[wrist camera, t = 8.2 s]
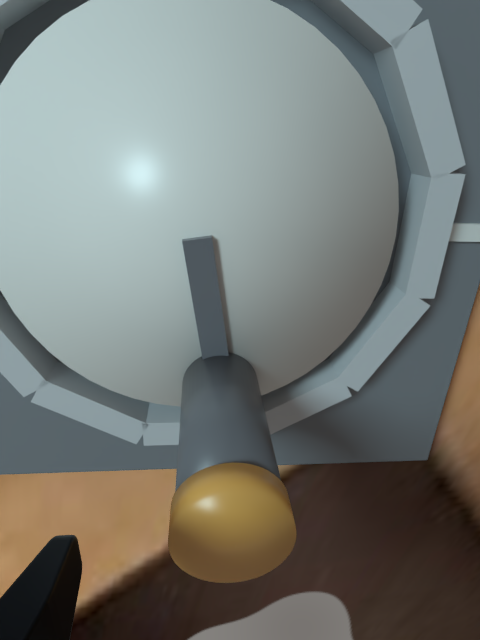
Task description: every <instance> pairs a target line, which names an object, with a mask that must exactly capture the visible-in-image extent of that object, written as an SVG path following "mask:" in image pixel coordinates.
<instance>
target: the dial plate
mask: <svg viewBox="0 0 480 640" xmlns="http://www.w3.org/2000/svg"><path fill="white" fill-rule="evenodd" d="M87 1H89V0H0V85H1V83H2V82H3V80H4V78H5V77H6V75H7V74H8V72H9V70H10V69H11V67H12V66H13V64H14V62H15V61H16V60H17V59H18V58H19V57H20V55H21V54H22V53H23V52H24V51H25V50H26V49H27V47H28V46H29V45H30V44H31V43H32V42H33V41H34V39H35V38H36V37H37V36H39V35H40V34H41V33H42V32H43V31H45V30H46V29H47V28H48V27H49V26H51V25H52V24H53V23H54V22H56V21H57V20H58V19H59V18H60V17H62V16H63V15H65V14H67V13H68V12H70V11H72V10H74V9H75V8H77V7H79V6H80V5H82V4H84V3H86V2H87ZM271 1H273V2H275V3H277V4H279V5H282V6H284V7H286V8H288V9H289V10H291V11H292V12H294V13H295V14H297V15H298V16H300V17H301V18H302V19H304V20H305V21H307V22H308V23H310V24H311V25H313V26H314V27H316V28H317V29H318V30H319V31H320V32H321V33H322V34H323V35H324V36H325V37H326V38H327V39H329V40H330V41H331V42H332V43H333V44H334V45H335V46H336V47H337V48H338V49H339V50H340V51H341V52H342V53H343V55H344V56H345V57H346V58H347V60H348V61H349V62H350V63H351V65H352V66H353V67H354V68H355V69H356V71H357V72H358V73H359V75H360V76H361V78H362V80H363V81H364V83H365V85H366V86H367V88H368V90H369V91H370V93H371V95H372V96H373V98H374V100H375V102H376V104H377V106H378V109H379V111H380V113H381V116H382V118H383V120H384V123H385V125H386V127H387V131H388V134H389V138H390V141H391V145H392V149H393V152H394V156H395V163H396V170H397V177H398V193H399V213H398V222H397V230H396V238H395V242H394V246H393V251H392V255H391V259H390V263H389V265H388V268H387V271H386V273H385V276H384V279H383V281H382V284H381V286H380V288H379V290H378V292H377V294H376V296H375V298H374V300H373V302H372V304H371V306H370V307H369V309H368V310H367V312H366V313H365V315H364V316H363V318H362V319H361V321H360V322H359V324H358V325H357V327H356V328H355V329H354V330H353V331H352V333H351V334H350V335H349V336H348V337H347V338H346V340H345V341H344V342H343V343H342V344H341V345H340V346H339V347H338V348H337V349H336V350H335V351H334V352H333V353H332V354H330V355H329V356H328V357H327V358H326V359H325V360H324V361H323V362H321V363H320V364H318V365H317V366H316V367H314V368H313V369H312V370H310V371H309V372H308V373H306V374H305V375H303V376H301V377H299V378H298V379H296V380H294V381H292V382H291V383H289V384H287V385H285V386H283V387H281V388H278V389H276V390H274V391H271V392H269V393H267V394H264V395H261V397H262V401H263V405H264V410H265V414H266V418H267V423H268V427H269V431H270V436H271V440H272V444H273V449H274V453H275V457H276V462H277V465H296V464H325V463H355V462H384V461H414V460H427V459H428V456H429V452H430V449H431V445H432V442H433V439H434V435H435V432H436V428H437V425H438V422H439V418H440V415H441V412H442V408H443V405H444V401H445V398H446V395H447V391H448V388H449V384H450V381H451V378H452V374H453V371H454V367H455V364H456V361H457V357H458V354H459V350H460V347H461V344H462V340H463V337H464V334H465V330H466V327H467V323H468V320H469V317H470V313H471V310H472V306H473V303H474V300H475V296H476V293H477V289H478V286H479V283H480V0H271ZM180 413H181V407H178V406H170V405H162V404H155V403H151V402H146V401H142V400H138V399H134V398H131V397H128V396H125V395H122V394H119V393H116V392H114V391H111V390H109V389H107V388H104V387H102V386H100V385H98V384H96V383H94V382H92V381H90V380H88V379H87V378H85V377H83V376H82V375H80V374H79V373H77V372H75V371H74V370H72V369H70V368H69V367H68V366H66V365H65V364H64V363H62V362H61V361H60V360H59V359H57V358H56V357H55V356H54V355H52V354H51V353H50V352H49V351H48V350H47V349H46V348H45V347H44V346H43V345H42V344H41V343H40V342H39V341H38V340H37V339H36V338H35V337H34V336H33V335H32V334H31V333H30V332H29V331H28V330H27V328H26V327H25V326H24V325H23V323H22V322H21V321H20V320H19V318H18V317H17V316H16V315H15V313H14V312H13V310H12V309H11V307H10V305H9V304H8V302H7V300H6V299H5V297H4V296H3V294H2V292H1V291H0V474H29V473H59V472H88V471H118V470H148V469H177V460H178V444H179V429H180Z"/></svg>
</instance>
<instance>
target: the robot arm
mask: <svg viewBox="0 0 480 640" xmlns="http://www.w3.org/2000/svg"><path fill="white" fill-rule="evenodd" d="M81 574H82V561H81V555H80V550H79V545H78V540H77V538H76V536H74V535H62V536H55V537H53V538H52V539H51V540H50V541H49V542H48V543H47V544H46V546H45V547H44V548H43V549H42V550H41V551H40V553H39V554H38V555H37V556H36V557H35V558H34V560H33V561H32V562H31V563H30V564H29V565H28V567H27V568H26V569H25V570H24V571H23V572H22V574H21V575H20V576H19V577H18V578H17V579H16V581H15V582H14V583H13V584H12V585H11V586H10V588H9V589H8V590H7V591H6V592H5V593H4V595H3V596H2V597H1V598H0V640H70V635H71V629H72V624H73V618H74V613H75V607H76V602H77V596H78V591H79V585H80V580H81Z"/></svg>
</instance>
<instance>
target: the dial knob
mask: <svg viewBox="0 0 480 640" xmlns="http://www.w3.org/2000/svg"><path fill="white" fill-rule="evenodd" d="M398 213H399V193H398V177H397V170H396V163H395V156H394V152H393V149H392V145H391V141H390V138H389V134H388V131H387V127H386V125H385V123H384V120H383V118H382V116H381V113H380V111H379V109H378V106H377V104H376V102H375V100H374V98H373V96H372V95H371V93H370V91H369V90H368V88H367V86H366V85H365V83H364V81H363V80H362V78H361V76H360V75H359V73H358V72H357V71H356V69H355V68H354V67H353V66H352V65H351V63H350V62H349V61H348V60H347V58H346V57H345V56H344V55H343V53H342V52H341V51H340V50H339V49H338V48H337V47H336V46H335V45H334V44H333V43H332V42H331V41H330V40H329V39H327V38H326V37H325V36H324V35H323V34H322V33H321V32H320V31H319V30H318V29H317V28H316V27H314V26H313V25H311V24H310V23H308V22H307V21H305V20H304V19H302V18H301V17H300V16H298V15H297V14H295V13H294V12H292V11H291V10H289V9H288V8H286V7H284V6H282V5H279V4H277V3H275V2H273V1H271V0H89V1H87V2H86V3H84V4H82V5H80V6H79V7H77V8H75V9H74V10H72V11H70V12H68V13H67V14H65V15H63V16H62V17H60V18H59V19H58V20H57V21H56V22H54V23H53V24H52V25H51V26H49V27H48V28H47V29H46V30H45V31H43V32H42V33H41V34H40V35H39V36H37V37H36V38H35V39H34V41H33V42H32V43H31V44H30V45H29V46H28V47H27V49H26V50H25V51H24V52H23V53H22V54H21V55H20V57H19V58H18V59H17V60H16V61H15V62H14V64H13V66H12V67H11V69H10V70H9V72H8V74H7V75H6V77H5V78H4V80H3V82H2V83H1V85H0V291H1V292H2V294H3V296H4V297H5V299H6V300H7V302H8V304H9V305H10V307H11V309H12V310H13V312H14V313H15V315H16V316H17V317H18V318H19V320H20V321H21V322H22V323H23V325H24V326H25V327H26V328H27V330H28V331H29V332H30V333H31V334H32V335H33V336H34V337H35V338H36V339H37V340H38V341H39V342H40V343H41V344H42V345H43V346H44V347H45V348H46V349H47V350H48V351H49V352H50V353H51V354H52V355H54V356H55V357H56V358H57V359H59V360H60V361H61V362H62V363H64V364H65V365H66V366H68V367H69V368H70V369H72V370H74V371H75V372H77V373H79V374H80V375H82V376H83V377H85V378H87V379H88V380H90V381H92V382H94V383H96V384H98V385H100V386H102V387H104V388H107V389H109V390H111V391H114V392H116V393H119V394H122V395H125V396H128V397H131V398H134V399H138V400H142V401H146V402H151V403H155V404H162V405H170V406H178V407H181V413H180V429H179V444H178V460H177V476H176V491H175V494H174V496H173V499H172V502H171V509H170V523H169V536H168V547H169V552H170V555H171V557H172V559H173V560H174V562H175V563H176V564H177V565H178V567H180V568H181V569H182V570H183V571H185V572H186V573H188V574H189V575H192V576H194V577H196V578H199V579H202V580H205V581H210V582H217V583H234V582H241V581H246V580H250V579H254V578H257V577H259V576H262V575H264V574H266V573H268V572H270V571H271V570H273V569H275V568H276V567H277V566H279V565H280V564H281V563H282V562H283V561H284V560H285V559H286V558H287V557H288V555H289V554H290V553H291V551H292V549H293V547H294V544H295V541H296V526H295V521H294V517H293V513H292V509H291V505H290V501H289V497H288V493H287V490H286V488H285V486H284V484H283V483H282V482H281V479H280V474H279V470H278V466H277V462H276V457H275V453H274V449H273V444H272V440H271V436H270V431H269V427H268V423H267V418H266V414H265V410H264V405H263V401H262V397H261V395H264V394H267V393H269V392H271V391H274V390H276V389H278V388H281V387H283V386H285V385H287V384H289V383H291V382H292V381H294V380H296V379H298V378H299V377H301V376H303V375H305V374H306V373H308V372H309V371H310V370H312V369H313V368H314V367H316V366H317V365H318V364H320V363H321V362H323V361H324V360H325V359H326V358H327V357H328V356H329V355H330V354H332V353H333V352H334V351H335V350H336V349H337V348H338V347H339V346H340V345H341V344H342V343H343V342H344V341H345V340H346V338H347V337H348V336H349V335H350V334H351V333H352V331H353V330H354V329H355V328H356V327H357V325H358V324H359V322H360V321H361V319H362V318H363V316H364V315H365V313H366V312H367V310H368V309H369V307H370V306H371V304H372V302H373V300H374V298H375V296H376V294H377V292H378V290H379V288H380V286H381V284H382V281H383V279H384V276H385V273H386V271H387V268H388V265H389V263H390V259H391V255H392V251H393V246H394V242H395V238H396V230H397V222H398Z"/></svg>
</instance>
